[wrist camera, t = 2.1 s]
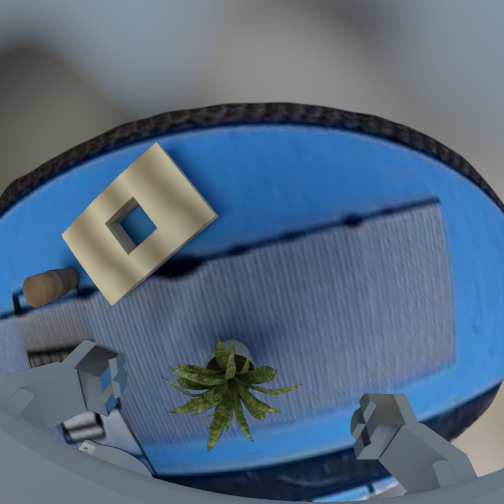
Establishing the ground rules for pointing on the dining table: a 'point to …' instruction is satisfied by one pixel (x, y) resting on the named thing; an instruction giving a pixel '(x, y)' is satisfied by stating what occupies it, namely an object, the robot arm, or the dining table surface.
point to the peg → (49, 286)
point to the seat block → (159, 211)
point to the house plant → (226, 387)
